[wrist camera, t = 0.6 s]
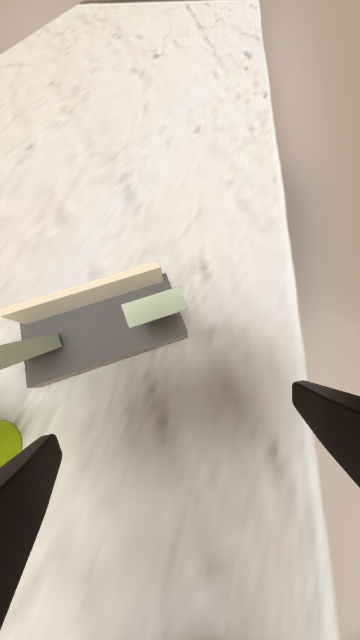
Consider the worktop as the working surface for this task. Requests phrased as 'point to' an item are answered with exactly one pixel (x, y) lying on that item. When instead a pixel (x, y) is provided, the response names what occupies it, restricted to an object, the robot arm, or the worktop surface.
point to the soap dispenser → (9, 442)
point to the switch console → (93, 324)
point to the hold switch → (27, 349)
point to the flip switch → (154, 307)
